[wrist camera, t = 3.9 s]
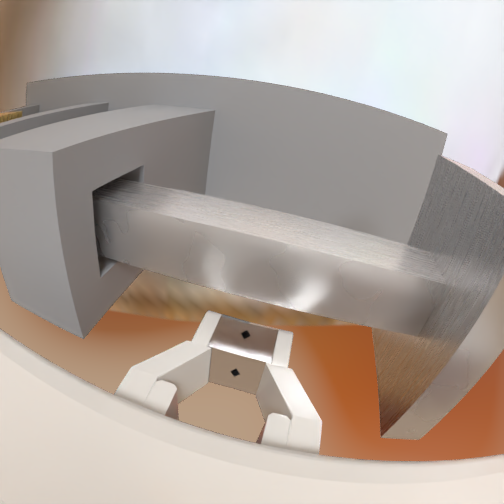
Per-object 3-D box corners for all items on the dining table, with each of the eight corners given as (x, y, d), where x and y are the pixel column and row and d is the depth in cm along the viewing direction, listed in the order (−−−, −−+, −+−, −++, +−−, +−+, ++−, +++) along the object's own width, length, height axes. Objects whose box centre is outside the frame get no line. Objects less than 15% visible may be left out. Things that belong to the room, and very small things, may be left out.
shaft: (-18, 105, 12) (-91, 130, 7) (500, 181, 9) (593, 253, 4) (-8, 215, 16) (-67, 255, 11) (427, 334, 13) (452, 439, 8)
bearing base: (35, 81, 18) (-109, 121, 6) (441, 131, 14) (624, 232, 2) (37, 190, 23) (-82, 266, 11) (391, 273, 19) (431, 472, 7)
